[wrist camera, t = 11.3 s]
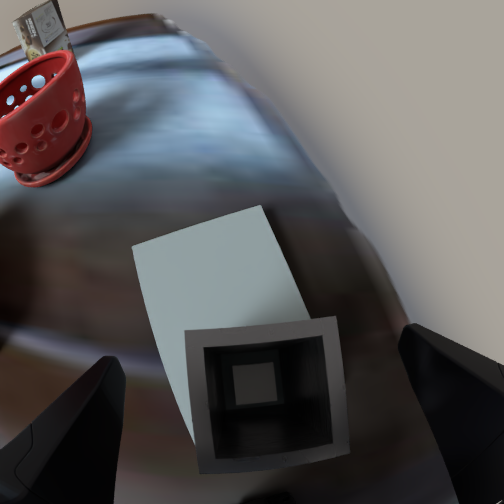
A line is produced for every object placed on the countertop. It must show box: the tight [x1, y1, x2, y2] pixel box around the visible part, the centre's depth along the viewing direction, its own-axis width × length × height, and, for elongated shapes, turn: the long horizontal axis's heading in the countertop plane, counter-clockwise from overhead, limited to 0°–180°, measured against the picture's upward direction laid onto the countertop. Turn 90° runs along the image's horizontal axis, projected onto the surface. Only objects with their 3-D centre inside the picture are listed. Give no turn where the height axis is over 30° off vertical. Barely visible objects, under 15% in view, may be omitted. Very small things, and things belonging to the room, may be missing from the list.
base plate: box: [132, 205, 310, 444], centre depth 19 cm, size 16×11×4 cm
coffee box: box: [13, 0, 75, 76], centre depth 29 cm, size 9×6×16 cm
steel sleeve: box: [184, 316, 350, 474], centre depth 13 cm, size 5×5×10 cm
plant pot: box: [0, 50, 92, 187], centre depth 21 cm, size 13×13×12 cm
